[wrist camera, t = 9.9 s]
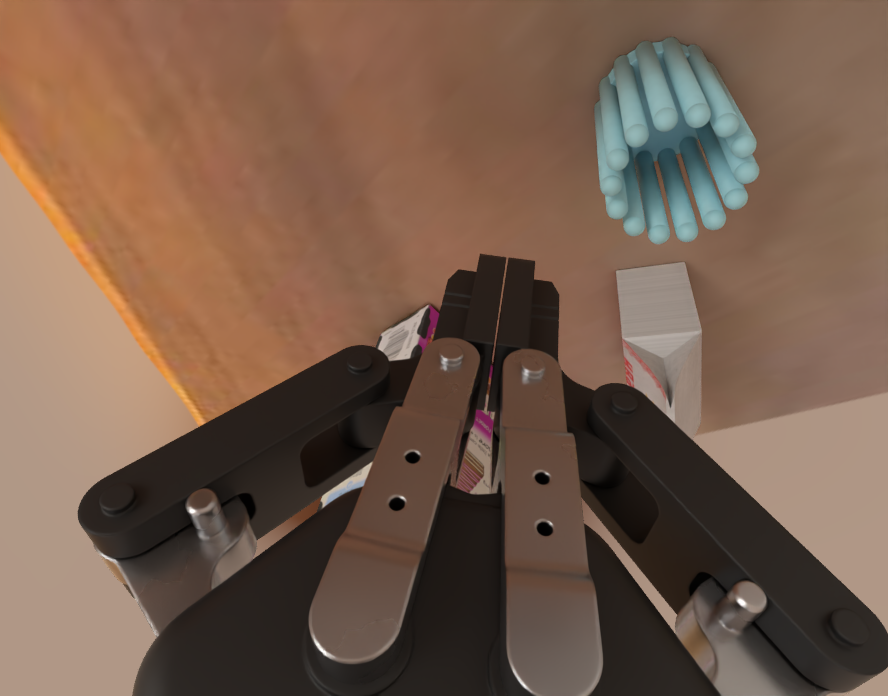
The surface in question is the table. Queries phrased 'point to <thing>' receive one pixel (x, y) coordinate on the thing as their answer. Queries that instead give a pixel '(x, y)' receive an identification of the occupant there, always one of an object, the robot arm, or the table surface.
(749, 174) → the blue rod cluster
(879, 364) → the table surface
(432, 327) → the candy bar box
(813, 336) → the table surface
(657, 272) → the white printed box
